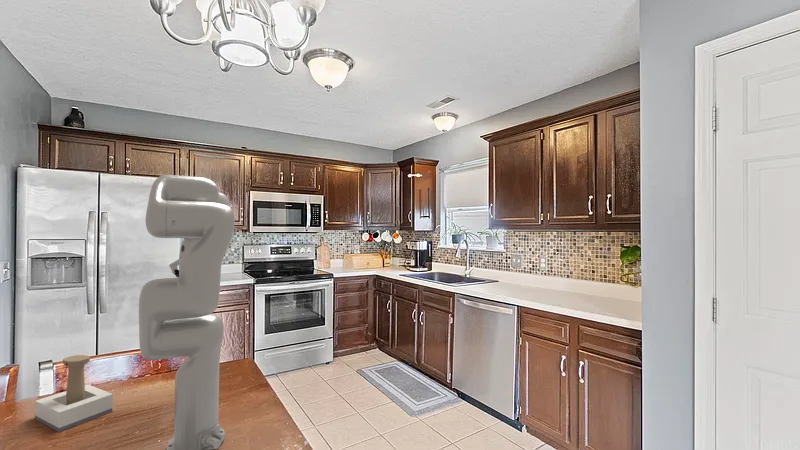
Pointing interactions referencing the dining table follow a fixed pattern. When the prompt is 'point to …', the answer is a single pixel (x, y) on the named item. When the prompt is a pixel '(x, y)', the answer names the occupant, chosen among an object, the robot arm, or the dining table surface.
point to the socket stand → (73, 408)
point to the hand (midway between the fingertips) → (196, 287)
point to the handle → (75, 378)
